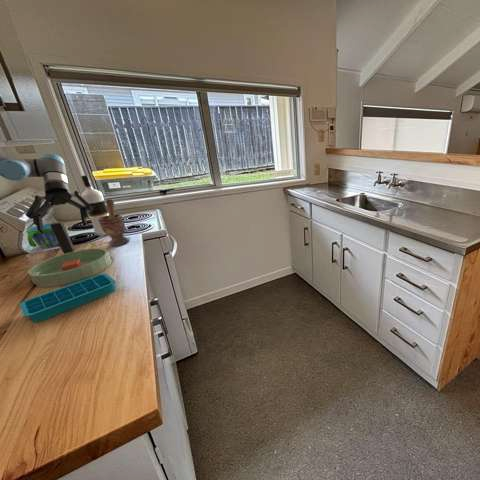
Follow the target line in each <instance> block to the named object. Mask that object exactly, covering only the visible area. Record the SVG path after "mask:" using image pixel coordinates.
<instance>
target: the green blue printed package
mask: <svg viewBox="0 0 480 480" xmlns="http://www.w3.org/2000/svg"><path fill="white" fill-rule="evenodd" d="M52 223H53V222H51V223H43V230H44V233H41V232H40V231H38V229H37V225H34V226H31V227H29V228H27V229H26V230H25V233H27V242H28V244H29V246H30V247H32V248H37V247H38V248H39V249H48V248H53V247H57V246H60V245H59V242H58V240H57V238H56V236H55V234H54V232H53V230H52V228H51V226H50V225H51V224H52Z"/></svg>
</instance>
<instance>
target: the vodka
mask: <svg viewBox="0 0 480 480" xmlns="http://www.w3.org/2000/svg"><path fill="white" fill-rule="evenodd" d="M80 178H81V180H82V183H83V185H84V188H85V190H84V191H83V192H82V193H80V196H81V197H82V198H83V199H84V200H85V201H86V202H87V203H89V204H90V205H91V207H92V208H93V209H92V210H88V218H89V219H90V221H91V224H92V227H93V232H94V234H95V236H98V237H103V236H107V235H106V234H105V232H104V231H103V229H102V227H101V225H100V223H99V220H98V219H99V218H101V217H104V216H109V213H108V209H107V205H106V200H105V198H104V195H103V193H102V191H100V190H98V189H95V188H93V186H92V182H91V181H90V178H89V175H81V177H80Z"/></svg>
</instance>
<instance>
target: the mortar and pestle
mask: <svg viewBox="0 0 480 480" xmlns="http://www.w3.org/2000/svg"><path fill="white" fill-rule="evenodd" d="M105 204H106V206H107V209H108V213H109V216H104V217H101V218H99V219H98V220H99V223H100V225H101V227H102V229H103V231H104V232H105V234H106V235H105V236H108V237H109V238H111V239H110V240H109V246H110V247H115V246H116V247H119V246H123V245H125V244H128V243H130V239H128V238H127V237H125V236H124V233H125V232H126V223H125V221H124V217H123V215H122V214H115V201H114V200H113V199H111V198H108V199H106V200H105ZM122 244H123V245H122Z"/></svg>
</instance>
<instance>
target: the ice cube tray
mask: <svg viewBox="0 0 480 480" xmlns="http://www.w3.org/2000/svg"><path fill="white" fill-rule="evenodd" d="M116 282H117V281H116V280H115V279H114V278H112V276H110V275H109V274H108V273H107V272H103V273H98V274H95V275H93V276H90V277H88V278H85V279H82V280H79V281H76V282H73V283H70V284H67V285H64V286H62V287H60V288H56V289H54V290H51V291H48V292H45V293H42V294H39V295H36V296H34V297H31V298H28V299H25V300H23V301H21V302H20V303H19V306H20V309H21V313H22V315H23V317H24V318H30V319H31V321H32V322H33V323H39V322H42V321H45V320H48V319H50V318H52V317H54V316H58V315H59V314H62V313H65V312H67V311H69V310H72V309H74V308H77V307H79V306H81V305H84V304H87V303H89V302H92V301H94V300H97V299H100V298H102V297H104V296H106V295H109V294H112V293H114V292H115V286H114V285H115V284H116Z"/></svg>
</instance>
